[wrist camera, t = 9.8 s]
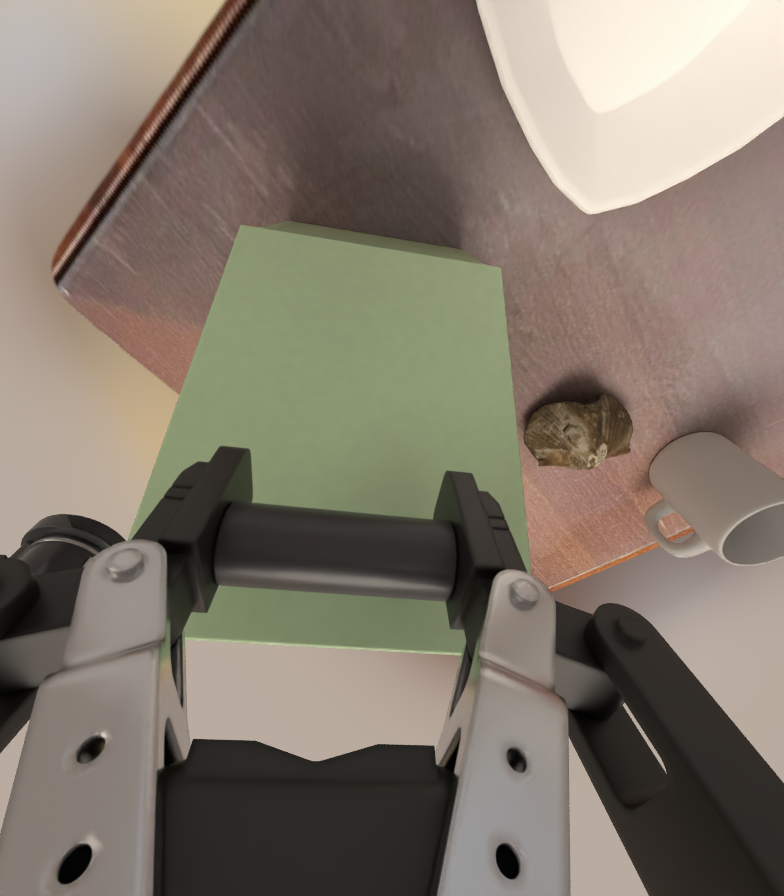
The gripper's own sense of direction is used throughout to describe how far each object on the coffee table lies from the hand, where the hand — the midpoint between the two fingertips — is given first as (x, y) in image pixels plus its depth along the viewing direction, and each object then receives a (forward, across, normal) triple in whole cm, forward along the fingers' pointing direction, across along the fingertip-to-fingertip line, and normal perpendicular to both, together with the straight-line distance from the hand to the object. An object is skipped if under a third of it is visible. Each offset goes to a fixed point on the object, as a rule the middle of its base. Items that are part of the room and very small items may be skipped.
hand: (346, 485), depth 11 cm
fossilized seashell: (+26, -22, +9) cm, 35 cm away
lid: (+6, 0, 0) cm, 6 cm away
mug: (+26, -37, +13) cm, 47 cm away
